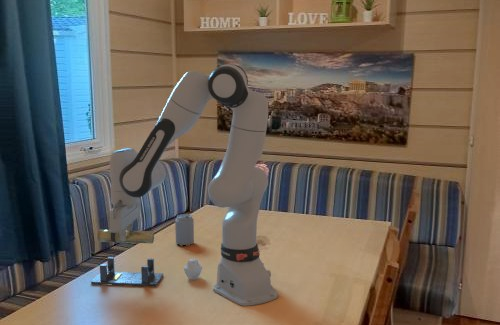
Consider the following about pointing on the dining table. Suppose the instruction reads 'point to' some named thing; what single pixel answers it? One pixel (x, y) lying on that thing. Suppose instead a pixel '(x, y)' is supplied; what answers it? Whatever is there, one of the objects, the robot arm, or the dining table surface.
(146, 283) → the stand
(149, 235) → the tube
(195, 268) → the light grey rounded piece
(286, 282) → the dining table surface
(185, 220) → the can
